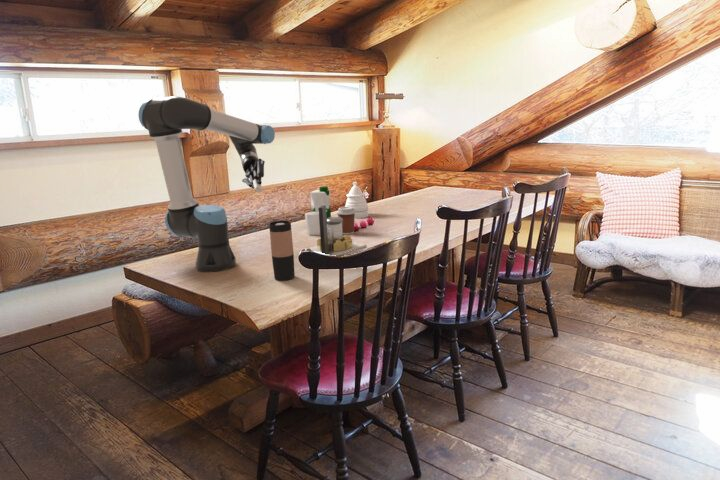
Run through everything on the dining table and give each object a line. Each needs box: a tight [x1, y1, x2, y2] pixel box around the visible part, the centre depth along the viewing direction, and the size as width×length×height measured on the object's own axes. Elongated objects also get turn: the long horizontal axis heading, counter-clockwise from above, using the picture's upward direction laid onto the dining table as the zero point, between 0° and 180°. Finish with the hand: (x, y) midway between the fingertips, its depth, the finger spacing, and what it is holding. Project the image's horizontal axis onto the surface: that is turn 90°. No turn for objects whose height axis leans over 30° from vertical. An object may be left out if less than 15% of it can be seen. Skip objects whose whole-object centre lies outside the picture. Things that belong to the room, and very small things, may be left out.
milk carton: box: [309, 186, 332, 218], centre depth 265 cm, size 9×9×20 cm
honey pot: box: [344, 181, 369, 219], centre depth 287 cm, size 13×13×18 cm
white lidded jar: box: [327, 216, 344, 243], centre depth 222 cm, size 8×8×13 cm
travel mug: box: [268, 220, 296, 282], centre depth 186 cm, size 8×8×20 cm
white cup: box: [304, 211, 320, 236], centre depth 251 cm, size 8×8×10 cm
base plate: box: [305, 241, 367, 256], centre depth 223 cm, size 21×17×1 cm
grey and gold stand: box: [316, 206, 353, 255], centre depth 216 cm, size 22×16×20 cm
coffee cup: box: [335, 206, 356, 235], centre depth 250 cm, size 9×9×12 cm
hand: (258, 189), depth 209 cm, fingers closed
